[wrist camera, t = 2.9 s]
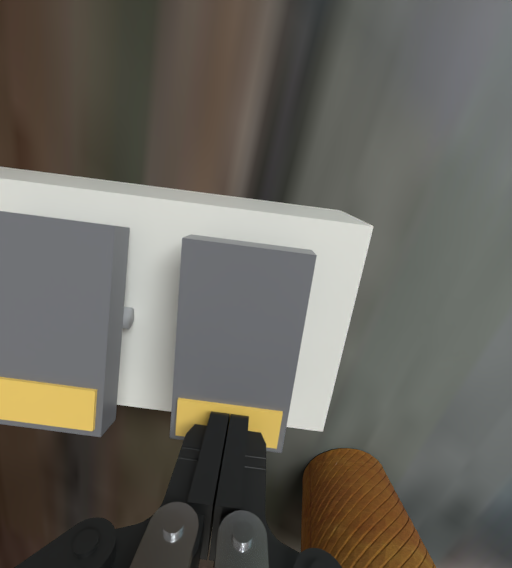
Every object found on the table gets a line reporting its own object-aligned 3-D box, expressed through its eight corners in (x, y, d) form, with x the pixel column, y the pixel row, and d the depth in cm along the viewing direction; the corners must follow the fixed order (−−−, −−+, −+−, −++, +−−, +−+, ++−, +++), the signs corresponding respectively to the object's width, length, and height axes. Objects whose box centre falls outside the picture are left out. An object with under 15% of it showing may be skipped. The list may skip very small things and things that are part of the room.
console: (-64, 158, 17) (-263, 147, 11) (339, 210, 17) (381, 229, 11) (-30, 321, 21) (-166, 386, 14) (307, 365, 21) (324, 450, 14)
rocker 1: (14, 212, 12) (-17, 208, 11) (129, 227, 12) (113, 225, 11) (9, 405, 13) (-20, 424, 12) (115, 419, 13) (98, 439, 12)
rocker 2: (190, 234, 11) (180, 238, 10) (311, 249, 11) (317, 255, 10) (178, 417, 13) (168, 441, 12) (280, 431, 13) (282, 456, 12)
